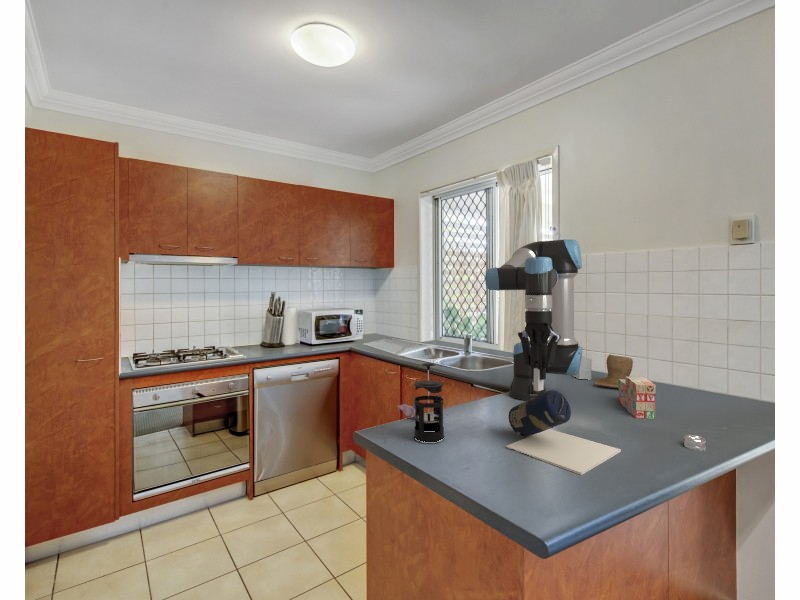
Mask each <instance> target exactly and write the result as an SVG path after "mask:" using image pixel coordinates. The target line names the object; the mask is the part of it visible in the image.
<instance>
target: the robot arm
mask: <svg viewBox="0 0 800 600" xmlns="http://www.w3.org/2000/svg"><path fill="white" fill-rule="evenodd" d="M582 268H583V261H582V254H581V249H580V244H579V241H577V239H555V240H554V239H553V240H543V241H534V242H530V243H528V244H525V245H523V246H521V247H519V248H518V249H517V250H515V251H514V252H513V254H512V255H511V258H509V259H508V260H507V261H506V262H505V263H503V264H502V265H501V266H500V267H490V268H487V270H486V272H485V286H486V288H487V289H488V290H489V291H524V297H525V298H524V304H525V305H524V306H525V307H524V308H525V309H526V310H525V312H524V321H525V327H524V329H523V330H522V331H518V332H517V336H518V338H519V340H520V341H519V342H516V343H515V344H514V345H513V353H512V355H513V379H512V381H511V385H510V387H509V397H511V398H513V399H515V398H516V400H520V399H521V401H528V400H530V399H532V398H534V397H536V396H538V395H541V394H543V393H545V392H547V391H548V390H547V388H546V385H545V382H544V380H546V378H547V374H552V375H563V376H564V375H565V376H571V375H577V374H578V373H579V369H580V365H581V358H582V356H583V350H584V349H583V347H582V346H580V345H579V341H578V340H577V339H576V338H575V300H574V299H575V293H574V290H575V289H574V288H575V287H574V285H575V283H574V281H575V280H574V279H575V277H576V276H577V275H578V273H579V270H581V269H582Z"/></svg>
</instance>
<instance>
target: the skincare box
mask: <svg viewBox="0 0 800 600" xmlns="http://www.w3.org/2000/svg"><path fill="white" fill-rule="evenodd" d="M592 361H593V360H592V358H588V357H586V356H583V355H582V358H581V365H580V369H579V373H578V374H577V375H572V376H574V377H576V378H578V379H588V380H587V381H591V380H592V368H593V367H592V364H593V363H592ZM572 376H571V377H572ZM574 377H573V378H574ZM576 378H575V379H576ZM578 379H577V380H578Z"/></svg>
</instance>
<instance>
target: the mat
mask: <svg viewBox="0 0 800 600" xmlns="http://www.w3.org/2000/svg"><path fill="white" fill-rule="evenodd" d="M506 447H508V448H511V449H514V450H516V451H519V452H521V453H524V454H527V455H529V456H528V457H530V456H532V457H534V458H533V459H535V458H537V459H536V460H538V459H540V460H539V461H541V460H542V462H544V461H545V462H544V463H546V462H547V464H549V463H550V464H549V465H552V464H553V466H555V467H557V466H558V468H561V469H564V470H567V471H569V472H571V473H575V474H577V475H580V476H583V475H584V474H587V473H588V472H589V471H590V470H591V471H592V470H593V469H594V468H596V467H597V466H599V465H601V464H603V463H604V462H606V461H608V460H610V459H611V458H612V457H614V456H616V455H618V454H619V453H621V451H622V449H620V448H619V447H613V446H611V445H606V444H603V443H600V442H595V441H593V440H589V439H586V438H582V437H579V436H575V435H572V434H569V433H565V432H561V431H559V430H555V429H552V428H551V429H547V430H545V431H543V432H540V433H537V434H533V435H531V436H528V437H523V438H522V439H519V440H518V441H515V442H512V443H510V444H507V445H505V448H506ZM516 451H515V452H516ZM519 452H518V453H519ZM521 453H520V454H521ZM524 454H523V455H524ZM527 455H526V456H527ZM532 457H531V458H532Z"/></svg>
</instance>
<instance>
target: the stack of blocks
mask: <svg viewBox="0 0 800 600" xmlns="http://www.w3.org/2000/svg"><path fill="white" fill-rule="evenodd" d="M656 385H657V384H655V383H653V382H652V381H651V380H649V379H647V378H645V377H644V376H629V377H625V380H624V379H618V387H619V389H618V403H620V405H621V404H622V405H621V406H623V408H624V409H626V410H627V411H628V412H629V414H631V415H632V416H633V418H634V419H641V420H656V399H657V397H656V393H657V392H656V391H657V390H656V389H657V386H656Z"/></svg>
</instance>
